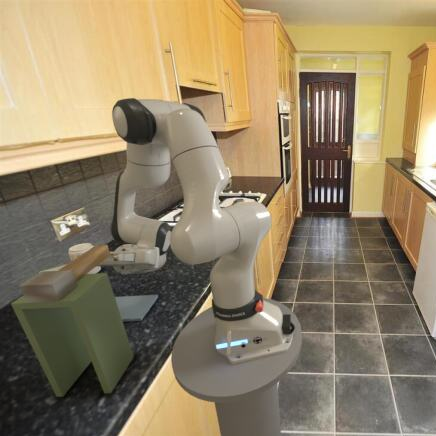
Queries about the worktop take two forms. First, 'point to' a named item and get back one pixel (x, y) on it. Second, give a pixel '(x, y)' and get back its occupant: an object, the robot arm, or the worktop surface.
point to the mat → (134, 306)
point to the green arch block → (78, 334)
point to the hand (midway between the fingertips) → (96, 258)
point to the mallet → (63, 277)
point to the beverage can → (82, 249)
